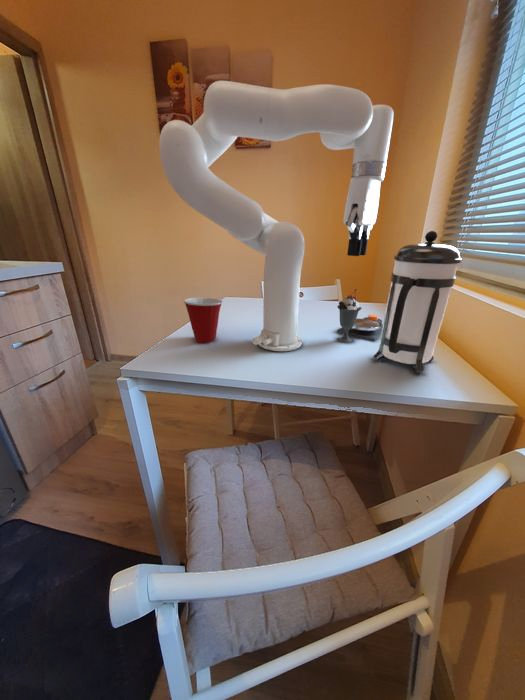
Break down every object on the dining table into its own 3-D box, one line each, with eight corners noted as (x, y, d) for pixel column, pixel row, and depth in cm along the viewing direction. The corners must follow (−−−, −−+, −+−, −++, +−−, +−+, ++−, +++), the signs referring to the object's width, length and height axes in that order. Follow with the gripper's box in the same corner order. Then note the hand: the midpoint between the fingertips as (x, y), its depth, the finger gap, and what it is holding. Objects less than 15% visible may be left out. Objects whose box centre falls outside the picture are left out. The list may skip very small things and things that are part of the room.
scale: (374, 341, 82) (375, 333, 81) (337, 332, 89) (337, 325, 88) (392, 328, 94) (393, 321, 93) (357, 321, 101) (358, 314, 100)
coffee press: (359, 348, 77) (378, 230, 65) (418, 349, 76) (447, 231, 65) (382, 378, 61) (413, 230, 49) (456, 380, 61) (505, 231, 49)
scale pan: (372, 332, 82) (372, 330, 81) (340, 325, 87) (341, 323, 87) (384, 325, 89) (384, 322, 88) (354, 319, 94) (354, 316, 94)
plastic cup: (232, 337, 83) (230, 298, 79) (207, 349, 75) (204, 305, 70) (205, 331, 89) (202, 293, 84) (179, 341, 80) (174, 300, 76)
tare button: (375, 322, 92) (376, 317, 91) (365, 320, 94) (366, 315, 93) (378, 320, 94) (379, 315, 94) (369, 318, 96) (370, 314, 96)
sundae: (356, 338, 84) (364, 288, 79) (356, 345, 79) (364, 292, 73) (334, 335, 86) (340, 286, 81) (332, 342, 81) (338, 291, 75)
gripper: (365, 180, 74) (355, 253, 81) (337, 170, 62) (328, 256, 70) (394, 177, 70) (381, 254, 77) (370, 165, 58) (357, 258, 65)
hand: (356, 254), depth 73 cm, fingers open, 3 cm apart
